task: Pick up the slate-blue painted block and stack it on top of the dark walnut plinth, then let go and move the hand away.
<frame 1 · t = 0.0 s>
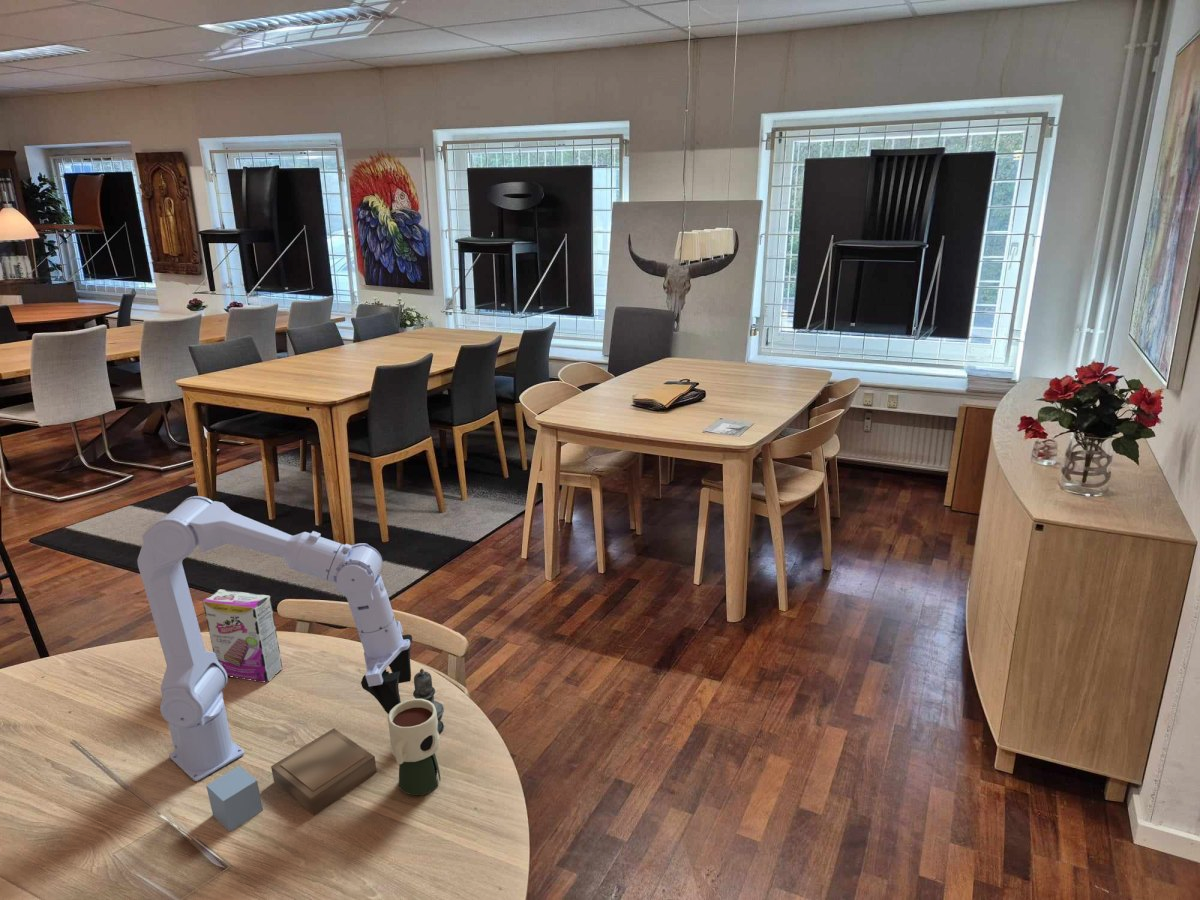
hand: (399, 695, 119), 11 cm above the table, tool pointing down, fingers open, 7 cm apart
salt shaker: (428, 730, 128), on the table
walnut plinth: (325, 776, 117), on the table
candy bar box: (250, 674, 144), on the table
blue block: (238, 813, 111), on the table
character mug: (420, 784, 116), on the table
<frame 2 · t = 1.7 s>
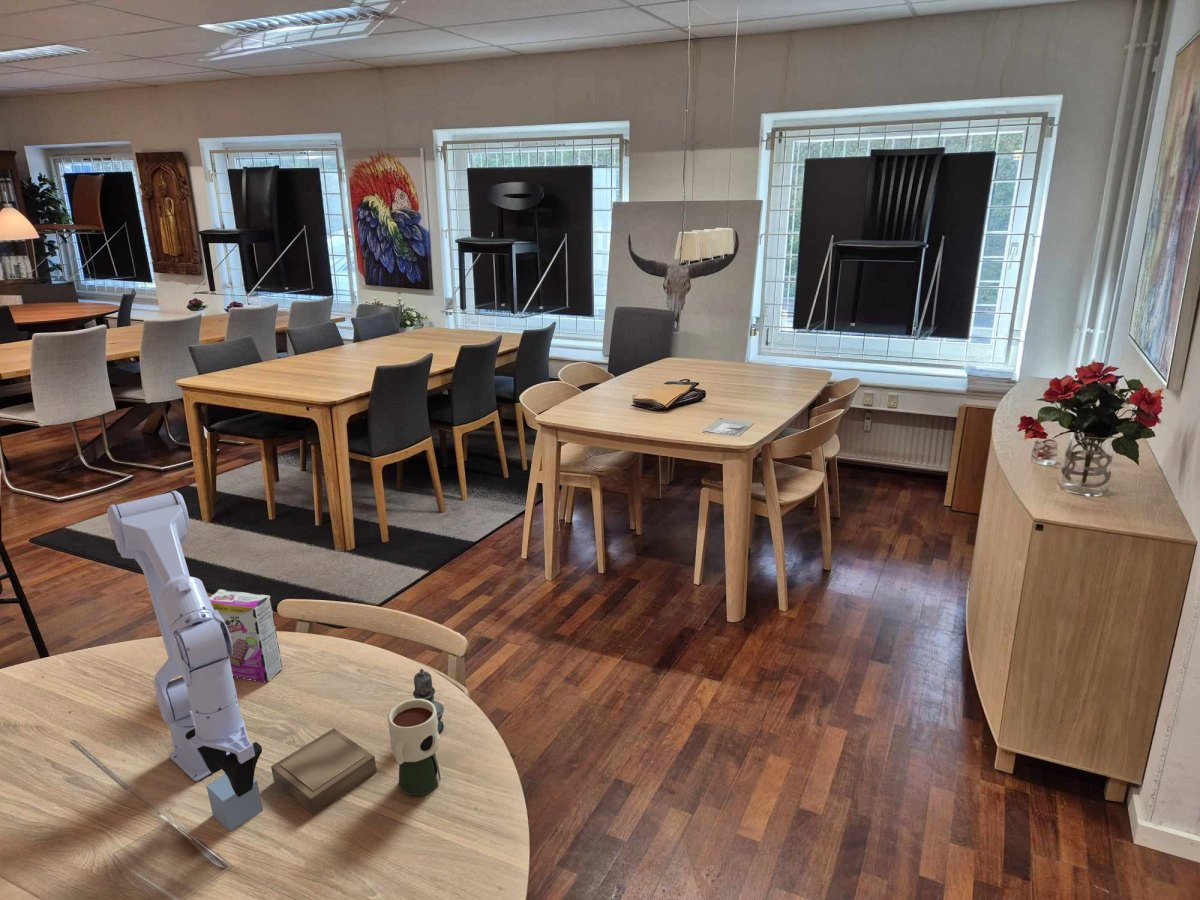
hand: (231, 780, 109), 6 cm above the table, tool pointing down, fingers open, 7 cm apart
nothing on the table moved.
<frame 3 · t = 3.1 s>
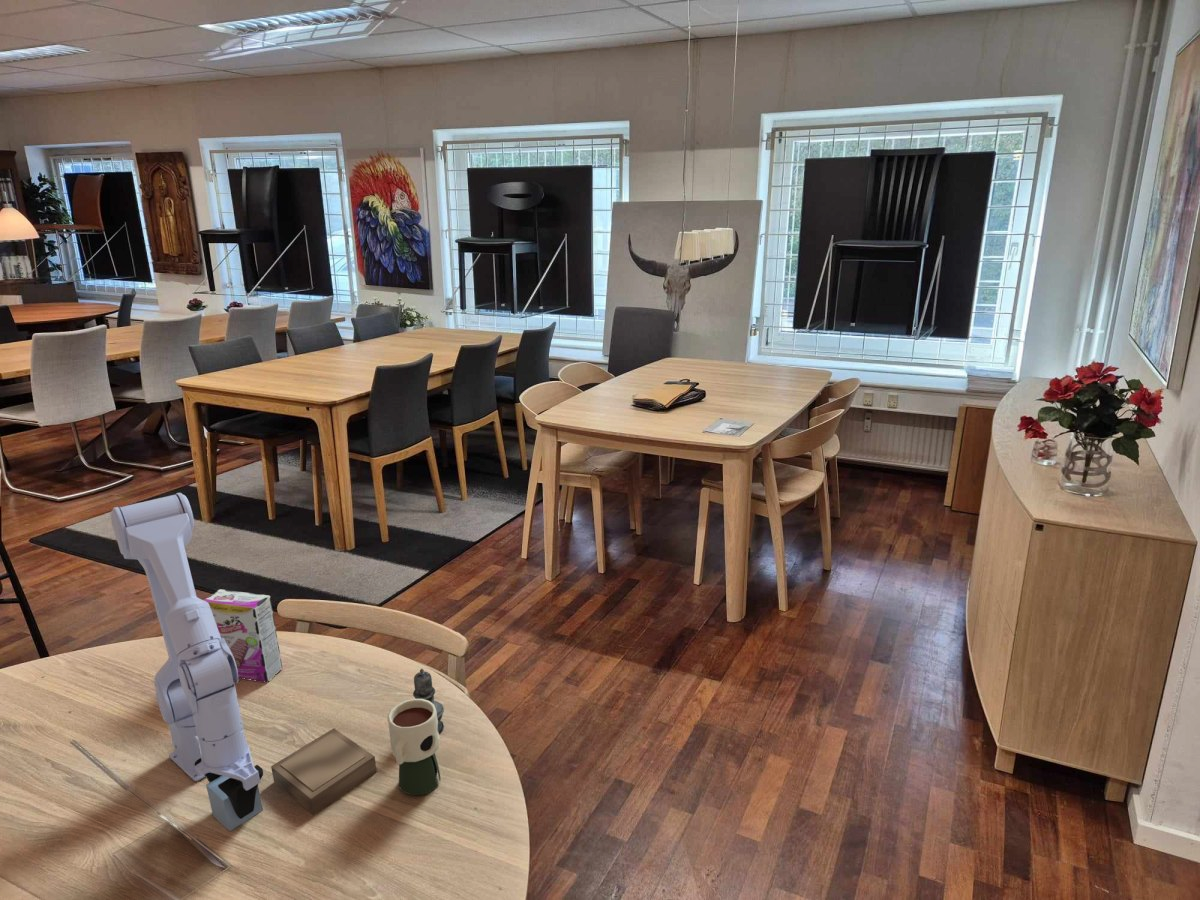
hand: (236, 804, 110), 1 cm above the table, tool pointing down, fingers closed on blue block, 5 cm apart
blue block: (238, 812, 111), on the table, touching gripper
everything else where it was.
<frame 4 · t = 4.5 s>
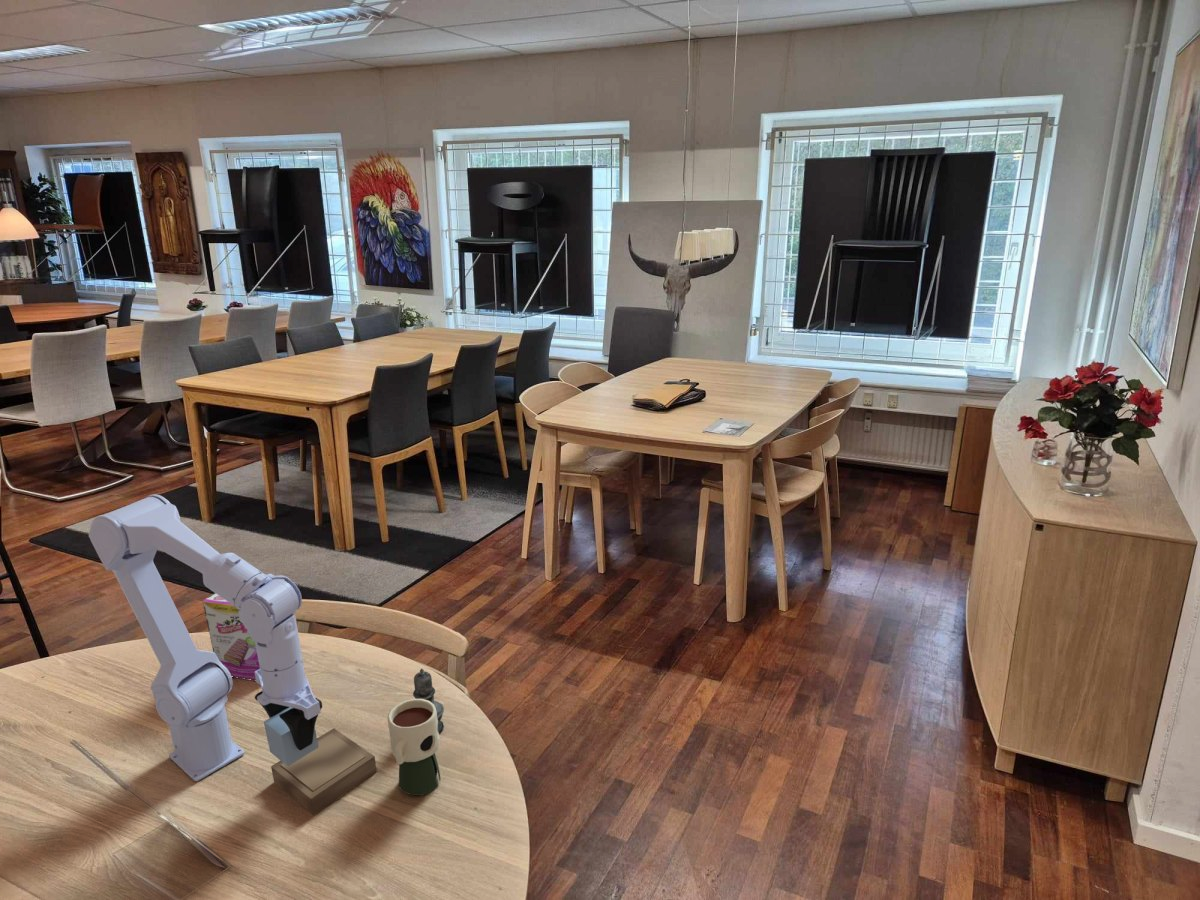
hand: (294, 738, 113), 9 cm above the table, tool pointing down, fingers closed on blue block, 5 cm apart
blue block: (294, 749, 113), point 7 cm above the table, touching gripper
everything else where it was.
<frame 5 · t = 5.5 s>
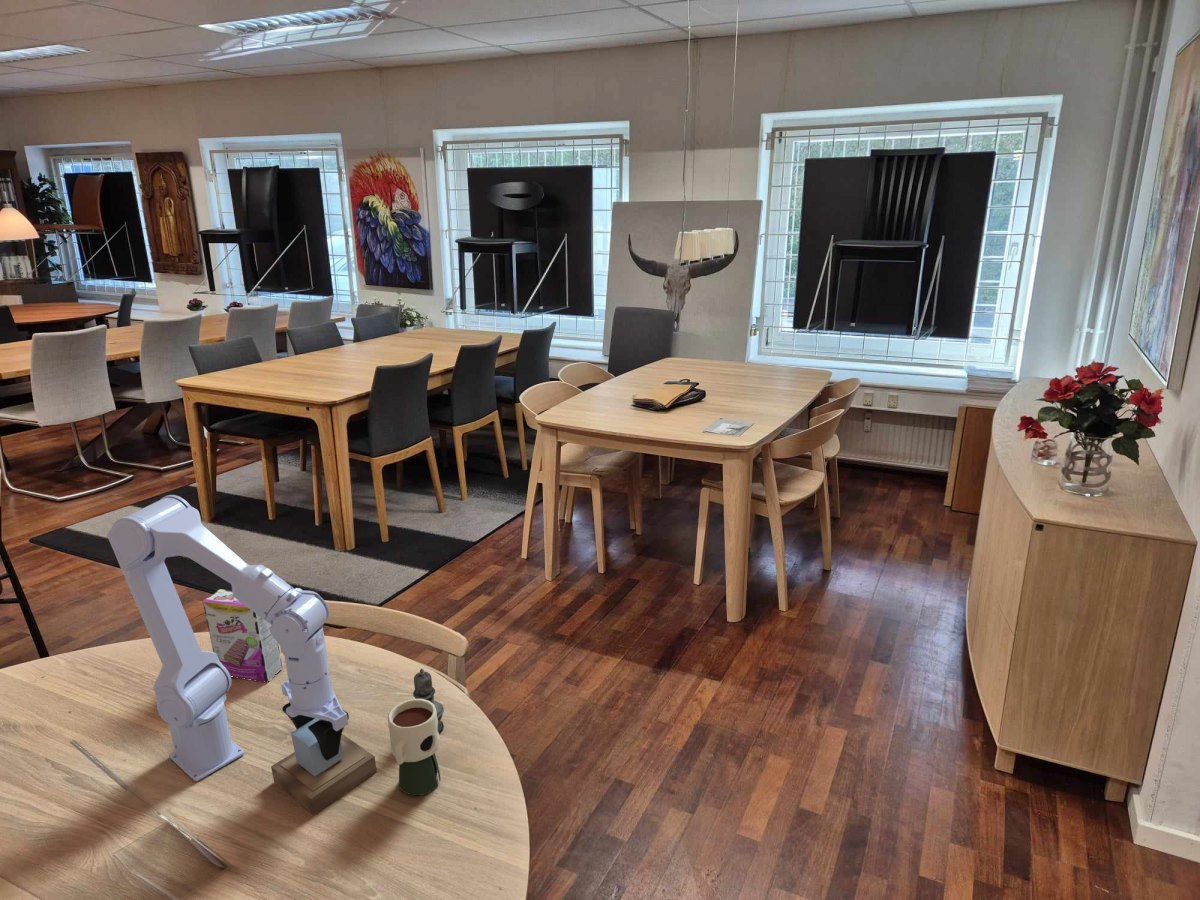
hand: (321, 748, 116), 5 cm above the table, tool pointing down, fingers closed on blue block, 5 cm apart
blue block: (320, 759, 116), point 4 cm above the table, touching gripper
everything else where it was.
when the fingers open (5 cm above the table, at t = 6.3 s): blue block stays where it is, resting on walnut plinth.
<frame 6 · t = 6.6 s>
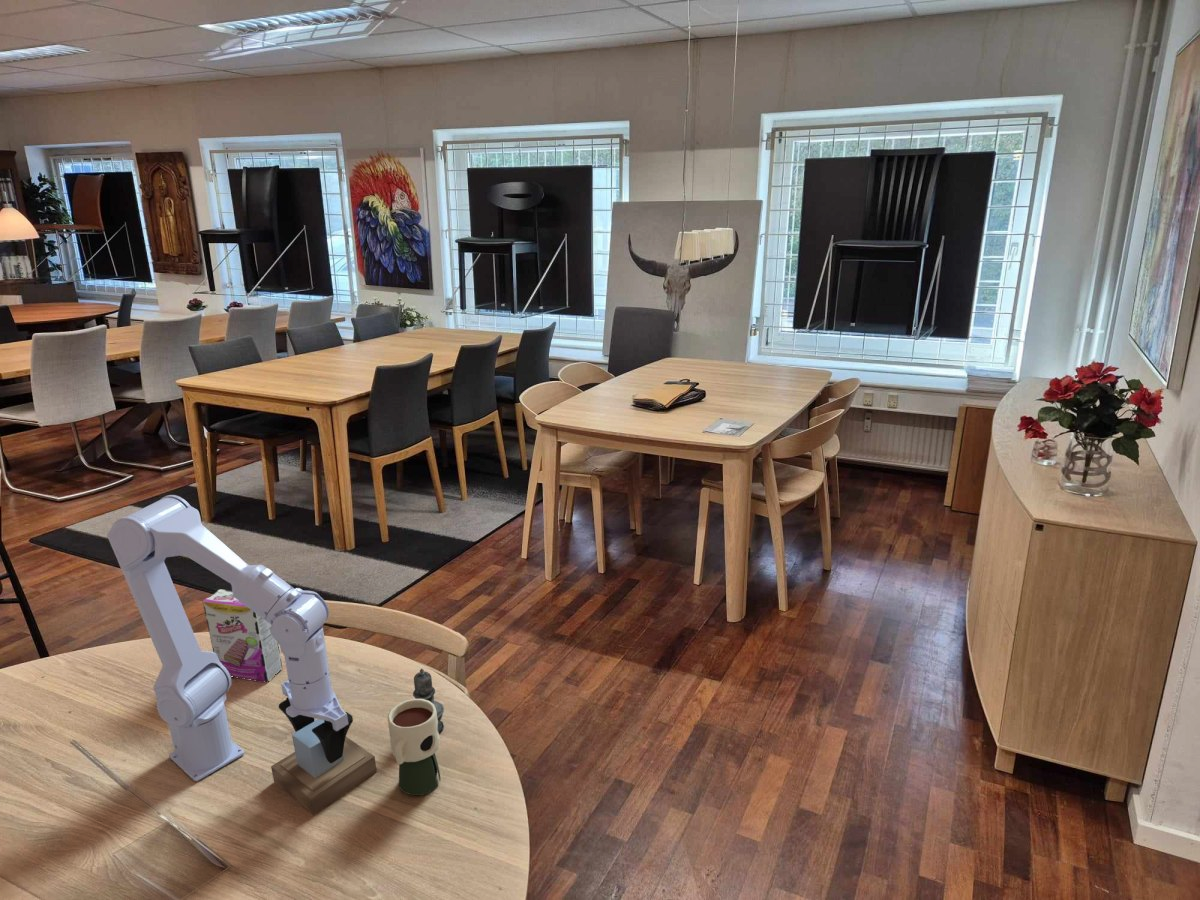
hand: (321, 748, 116), 5 cm above the table, tool pointing down, fingers open, 7 cm apart
blue block: (320, 761, 116), point 3 cm above the table, touching walnut plinth
everything else where it was.
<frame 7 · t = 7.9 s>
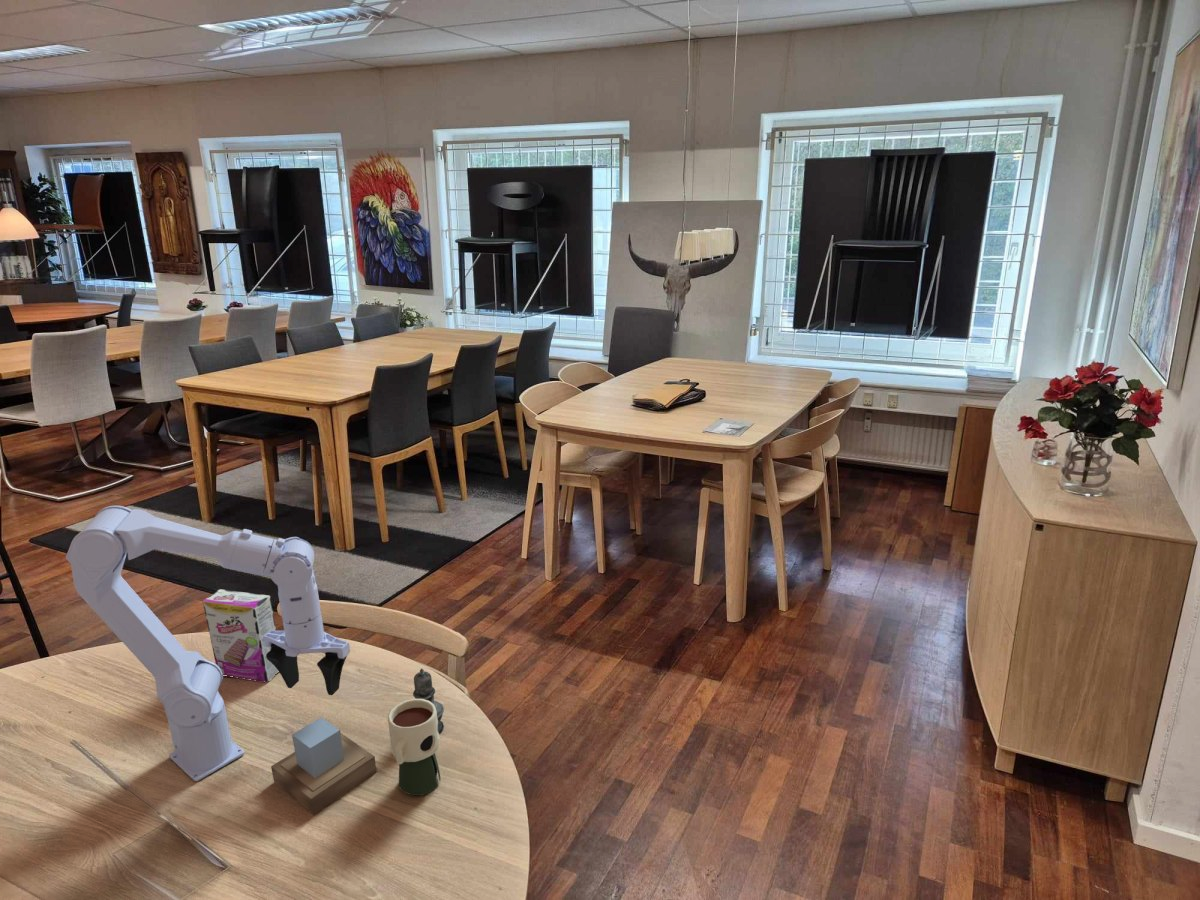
hand: (313, 687, 123), 10 cm above the table, tool pointing down, fingers open, 7 cm apart
nothing on the table moved.
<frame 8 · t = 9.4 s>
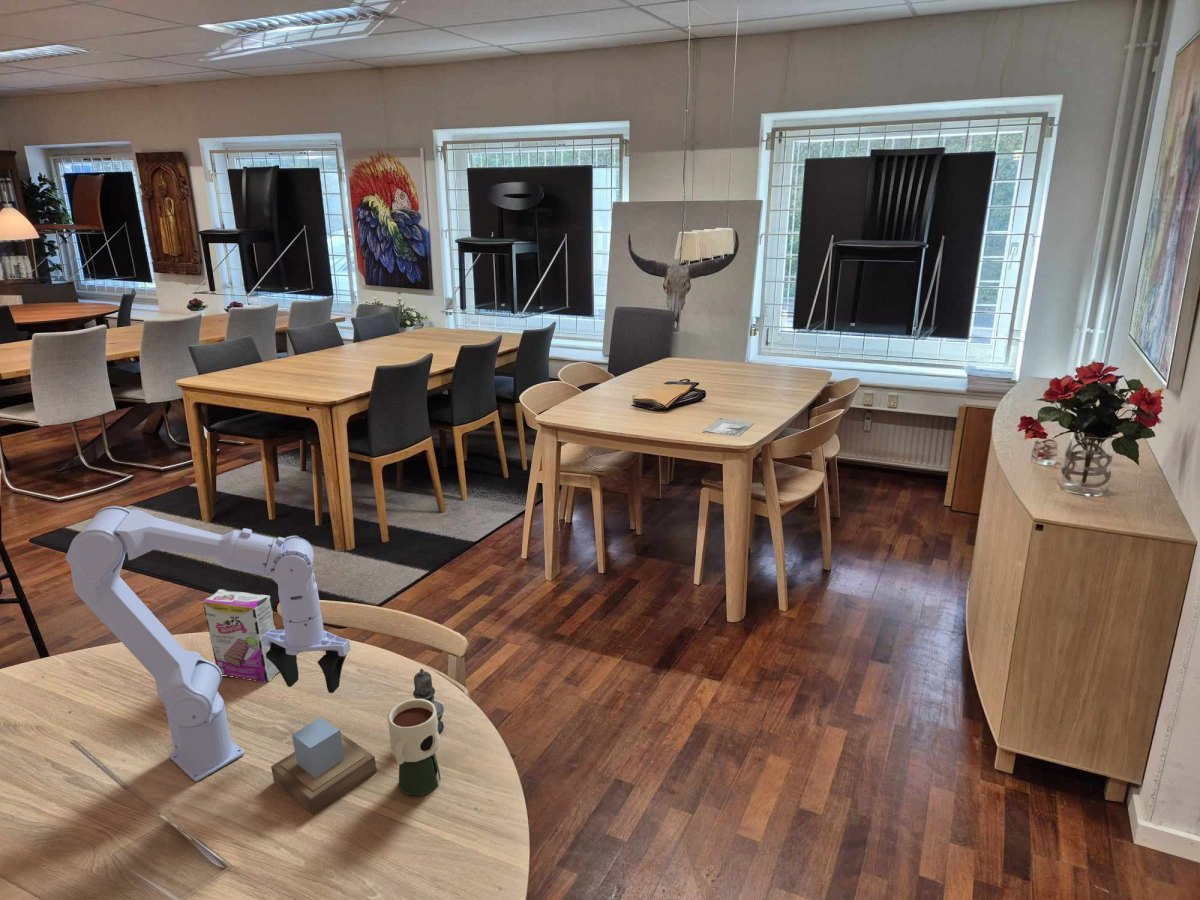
hand: (313, 686, 123), 10 cm above the table, tool pointing down, fingers open, 7 cm apart
nothing on the table moved.
at the end: blue block inside the target area on the walnut plinth (0.4 cm from its centre), point 3.1 cm above the walnut plinth's base; blue block tilted 0°; the gripper is holding nothing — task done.
